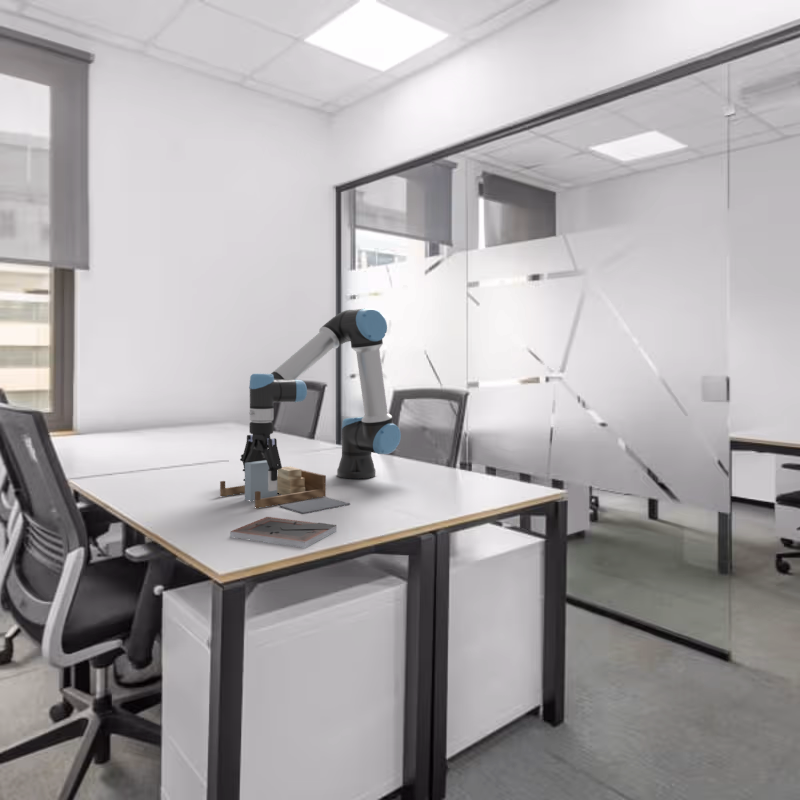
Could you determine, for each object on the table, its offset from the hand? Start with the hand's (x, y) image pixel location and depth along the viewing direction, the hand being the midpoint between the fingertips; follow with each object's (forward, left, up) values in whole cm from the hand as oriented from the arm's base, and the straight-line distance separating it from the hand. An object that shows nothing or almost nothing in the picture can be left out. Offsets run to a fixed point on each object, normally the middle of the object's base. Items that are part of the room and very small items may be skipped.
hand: (261, 487), depth 200 cm
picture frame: (+18, +40, -5) cm, 44 cm away
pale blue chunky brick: (0, 0, -4) cm, 4 cm away
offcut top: (-11, 0, +2) cm, 11 cm away
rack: (-4, 0, -4) cm, 5 cm away
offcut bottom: (-11, 0, -4) cm, 12 cm away
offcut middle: (-11, 0, -1) cm, 11 cm away
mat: (-7, +20, -4) cm, 21 cm away
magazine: (-9, -18, -4) cm, 20 cm away
